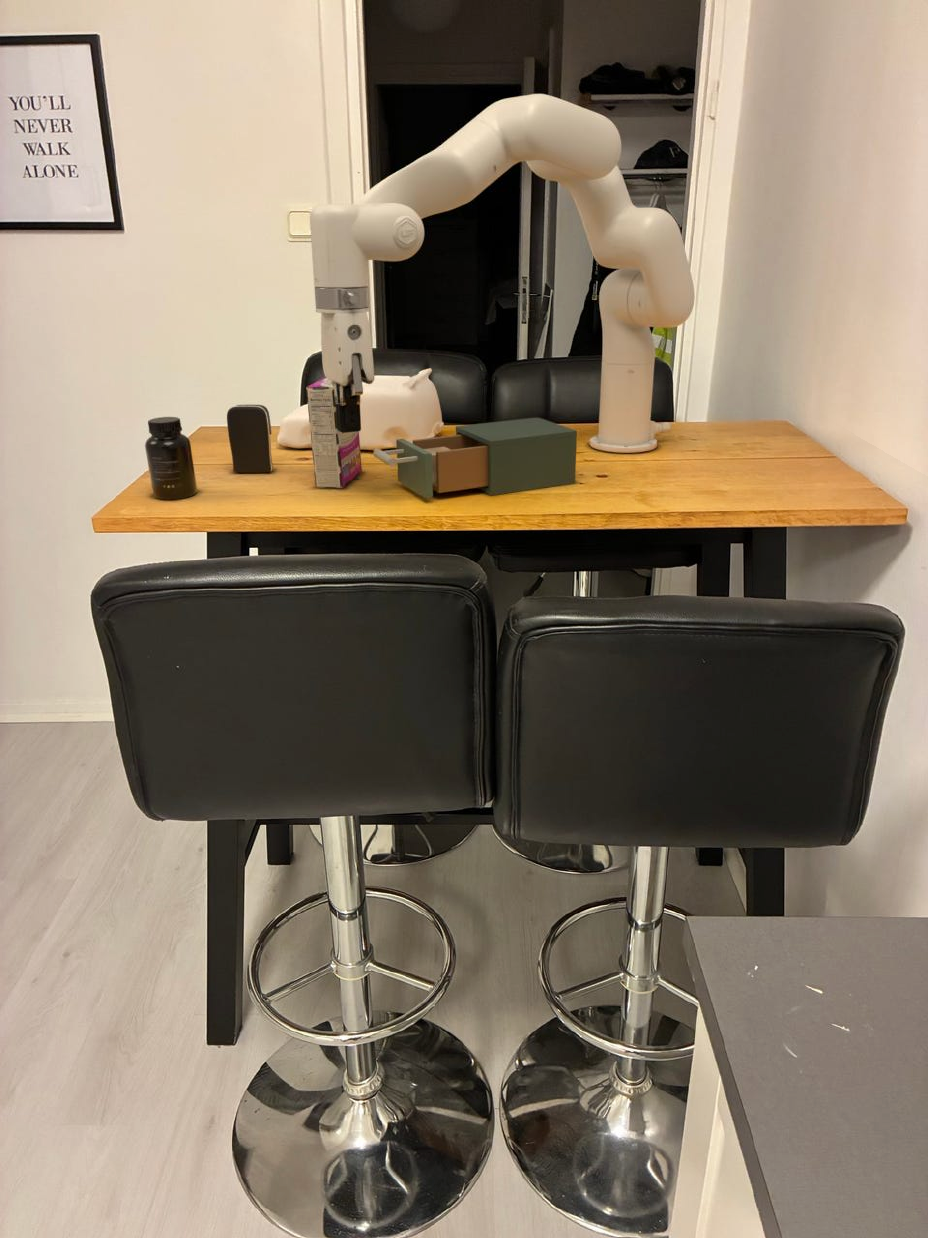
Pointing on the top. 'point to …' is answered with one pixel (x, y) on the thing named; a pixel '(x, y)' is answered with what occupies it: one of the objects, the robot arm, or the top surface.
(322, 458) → the candy bar box
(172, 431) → the supplement bottle
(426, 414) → the white rounded body
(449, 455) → the drawer
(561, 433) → the cabinet
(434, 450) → the cream box
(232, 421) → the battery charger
